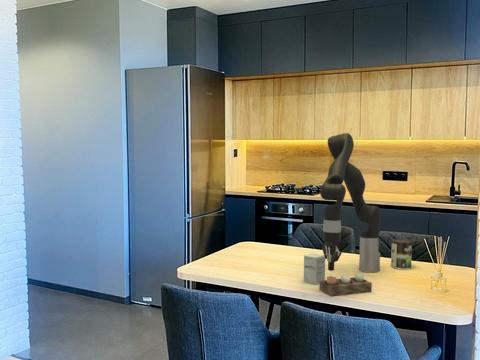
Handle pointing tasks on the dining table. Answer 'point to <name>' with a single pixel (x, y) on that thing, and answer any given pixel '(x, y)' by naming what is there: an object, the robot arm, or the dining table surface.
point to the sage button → (359, 277)
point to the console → (345, 287)
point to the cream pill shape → (345, 279)
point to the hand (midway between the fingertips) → (330, 270)
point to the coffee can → (401, 254)
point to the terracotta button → (331, 280)
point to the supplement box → (314, 268)
